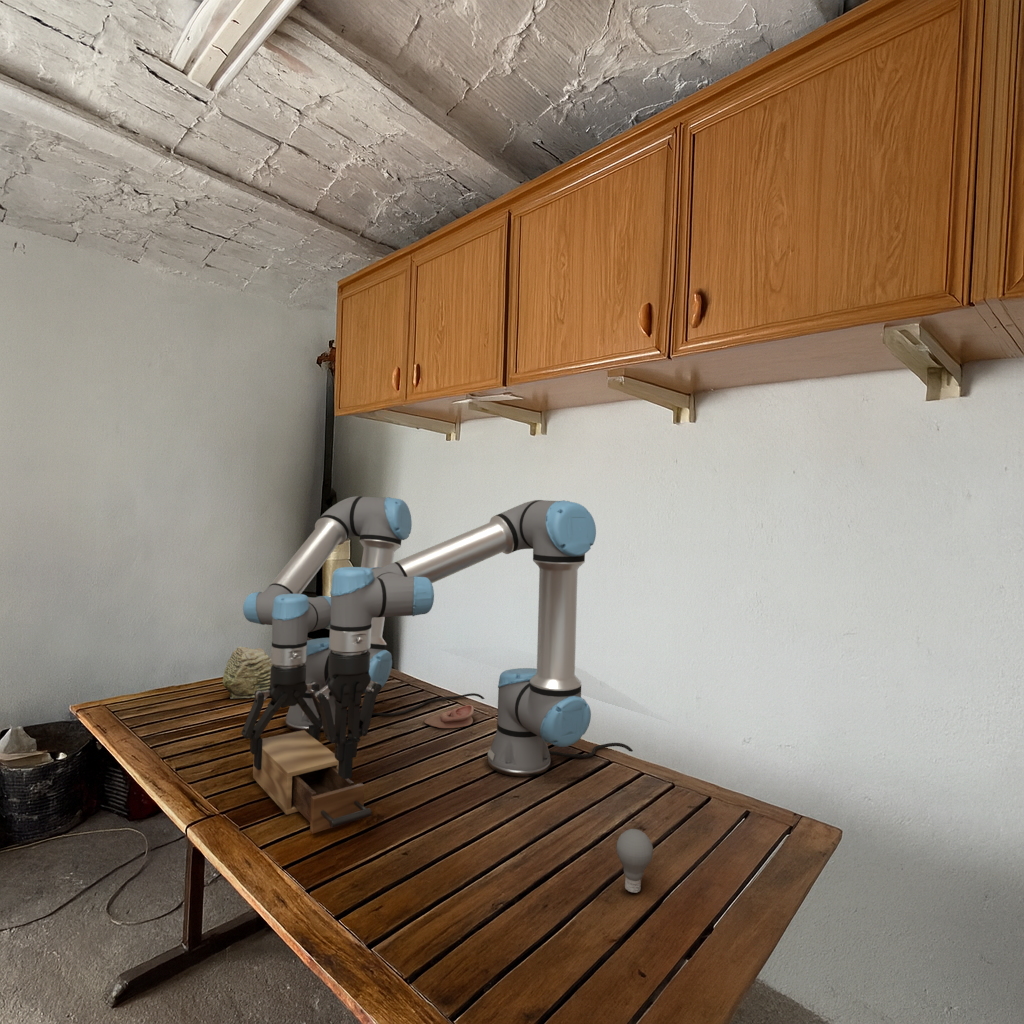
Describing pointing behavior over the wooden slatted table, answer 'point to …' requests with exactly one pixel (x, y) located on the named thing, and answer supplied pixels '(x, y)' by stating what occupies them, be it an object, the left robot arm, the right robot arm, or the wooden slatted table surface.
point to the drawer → (328, 799)
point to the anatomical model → (452, 718)
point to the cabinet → (289, 764)
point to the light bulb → (634, 857)
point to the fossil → (247, 672)
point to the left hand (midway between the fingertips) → (285, 761)
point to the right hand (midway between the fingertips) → (345, 775)
